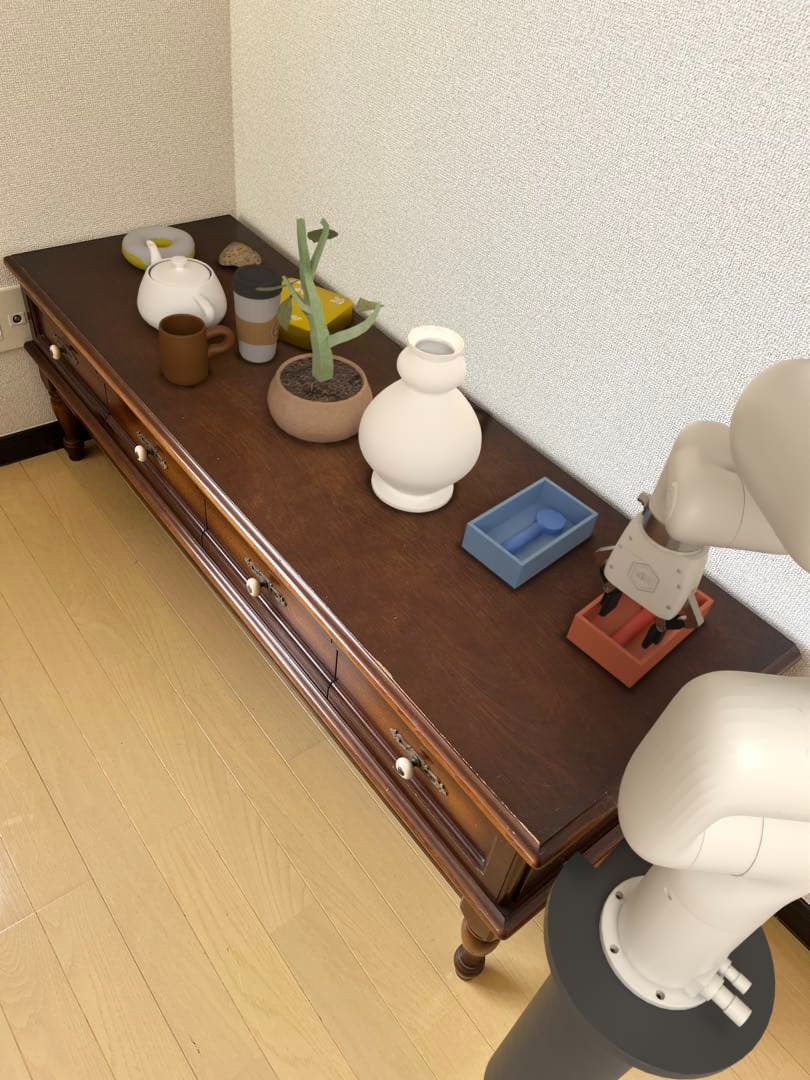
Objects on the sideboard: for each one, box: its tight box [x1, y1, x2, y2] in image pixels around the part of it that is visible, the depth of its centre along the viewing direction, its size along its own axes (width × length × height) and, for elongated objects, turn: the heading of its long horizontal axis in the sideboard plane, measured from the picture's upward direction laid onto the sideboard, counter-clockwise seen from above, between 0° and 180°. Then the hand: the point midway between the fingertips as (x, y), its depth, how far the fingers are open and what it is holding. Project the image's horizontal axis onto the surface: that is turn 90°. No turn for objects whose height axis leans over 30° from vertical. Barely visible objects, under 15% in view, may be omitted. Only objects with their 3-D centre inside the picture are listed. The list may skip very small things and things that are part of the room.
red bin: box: [565, 588, 715, 689], centre depth 107 cm, size 17×10×5 cm, turn 133°
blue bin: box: [461, 476, 599, 590], centre depth 117 cm, size 17×10×5 cm, turn 133°
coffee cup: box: [231, 263, 283, 364], centre depth 140 cm, size 8×8×15 cm
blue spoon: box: [500, 509, 566, 554], centre depth 118 cm, size 14×4×2 cm, turn 133°
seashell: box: [218, 241, 263, 268], centre depth 167 cm, size 8×6×8 cm
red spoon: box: [610, 606, 656, 647], centre depth 108 cm, size 14×4×2 cm, turn 133°
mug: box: [158, 314, 235, 387], centre depth 135 cm, size 12×8×9 cm, turn 102°
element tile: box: [277, 277, 354, 351], centre depth 153 cm, size 15×15×5 cm
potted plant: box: [256, 217, 386, 444], centre depth 126 cm, size 22×18×30 cm
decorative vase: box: [358, 324, 482, 513], centre depth 116 cm, size 18×18×25 cm
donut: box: [121, 225, 196, 272], centre depth 163 cm, size 14×14×5 cm
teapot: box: [136, 240, 228, 331], centre depth 146 cm, size 25×16×12 cm, turn 36°
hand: (628, 625), depth 105 cm, fingers open, 6 cm apart
